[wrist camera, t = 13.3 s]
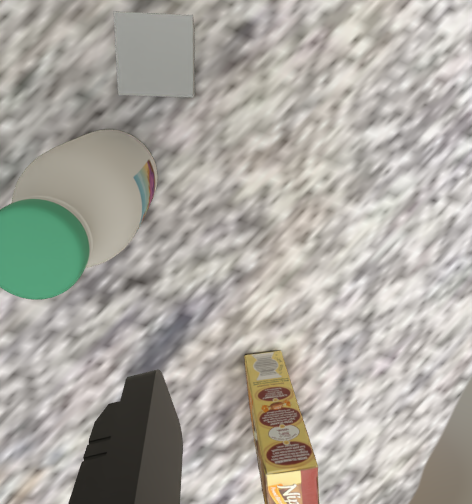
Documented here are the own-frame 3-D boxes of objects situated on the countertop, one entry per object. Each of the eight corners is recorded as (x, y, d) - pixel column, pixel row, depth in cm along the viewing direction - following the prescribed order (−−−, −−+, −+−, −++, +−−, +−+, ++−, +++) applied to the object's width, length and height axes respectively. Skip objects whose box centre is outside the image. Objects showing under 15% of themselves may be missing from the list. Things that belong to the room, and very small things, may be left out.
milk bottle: (49, 173, 38) (-101, 257, 19) (109, 108, 36) (10, 129, 18) (118, 233, 40) (44, 361, 21) (176, 174, 39) (153, 256, 20)
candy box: (242, 353, 45) (261, 475, 31) (282, 348, 46) (319, 466, 31) (250, 420, 49) (270, 559, 34) (288, 415, 49) (324, 551, 34)
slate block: (133, 93, 36) (118, 94, 29) (130, 26, 34) (113, 11, 28) (194, 95, 36) (192, 97, 30) (194, 29, 35) (192, 15, 28)
